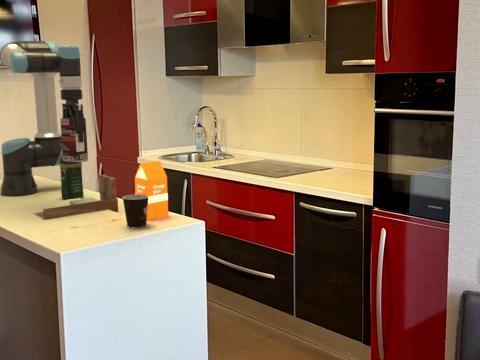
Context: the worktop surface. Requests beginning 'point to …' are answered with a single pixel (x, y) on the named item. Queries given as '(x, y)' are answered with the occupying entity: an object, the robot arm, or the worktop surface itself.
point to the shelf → (106, 202)
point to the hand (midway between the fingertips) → (75, 150)
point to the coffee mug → (136, 209)
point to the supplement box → (72, 142)
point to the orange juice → (153, 188)
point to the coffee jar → (71, 179)
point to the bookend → (83, 201)
